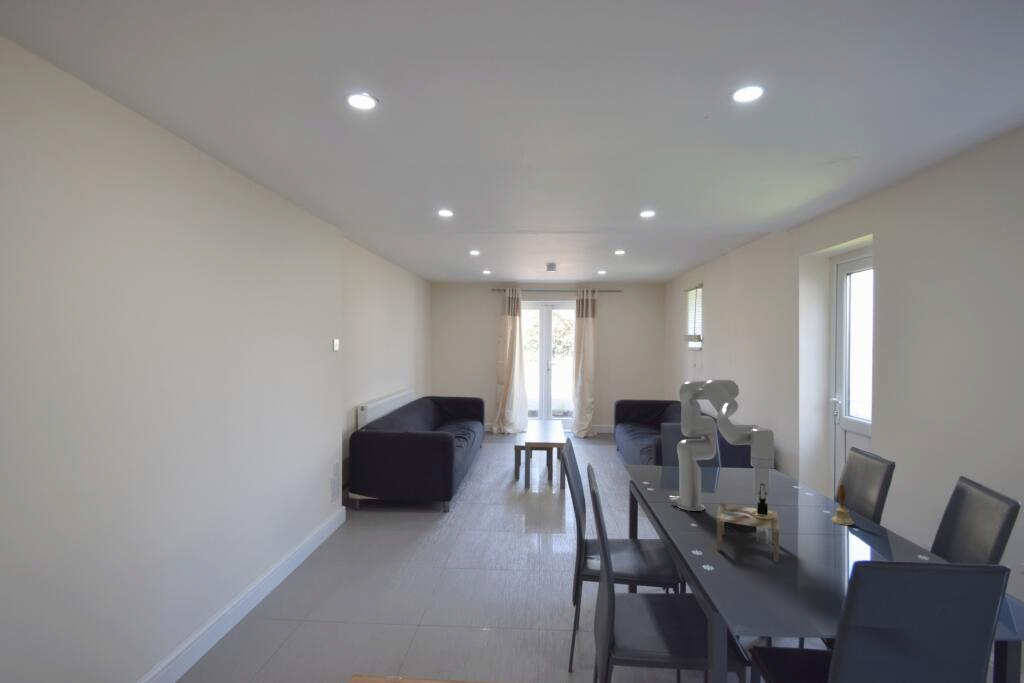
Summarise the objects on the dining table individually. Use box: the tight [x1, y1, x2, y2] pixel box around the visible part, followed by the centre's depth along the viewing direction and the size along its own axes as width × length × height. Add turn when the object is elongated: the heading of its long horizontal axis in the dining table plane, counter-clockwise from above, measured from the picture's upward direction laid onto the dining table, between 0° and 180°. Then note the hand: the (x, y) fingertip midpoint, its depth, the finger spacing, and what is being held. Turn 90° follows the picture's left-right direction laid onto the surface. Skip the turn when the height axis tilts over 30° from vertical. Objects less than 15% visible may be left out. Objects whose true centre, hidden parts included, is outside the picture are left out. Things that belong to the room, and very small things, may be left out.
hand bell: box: [830, 483, 855, 526], centre depth 198 cm, size 8×8×16 cm
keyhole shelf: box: [715, 502, 781, 563], centre depth 172 cm, size 20×18×12 cm
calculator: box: [724, 512, 756, 533], centre depth 194 cm, size 11×4×15 cm
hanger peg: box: [752, 495, 773, 545], centre depth 170 cm, size 7×7×16 cm
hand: (762, 511), depth 170 cm, fingers closed on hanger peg, 3 cm apart
